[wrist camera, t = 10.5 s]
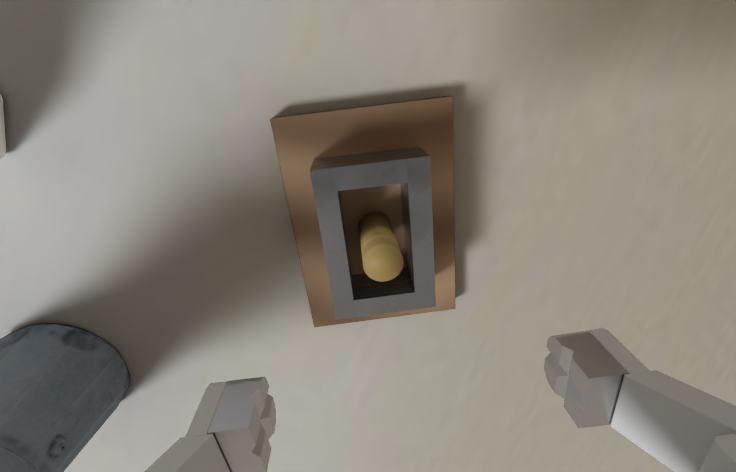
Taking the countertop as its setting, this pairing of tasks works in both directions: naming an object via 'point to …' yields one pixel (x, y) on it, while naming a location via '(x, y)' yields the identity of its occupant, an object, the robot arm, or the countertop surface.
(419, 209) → the link
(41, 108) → the countertop surface
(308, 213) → the keeper
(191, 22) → the countertop surface
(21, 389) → the moka pot
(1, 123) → the pepper shaker
